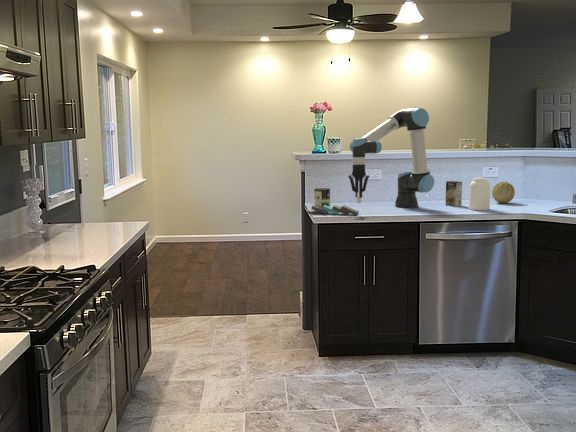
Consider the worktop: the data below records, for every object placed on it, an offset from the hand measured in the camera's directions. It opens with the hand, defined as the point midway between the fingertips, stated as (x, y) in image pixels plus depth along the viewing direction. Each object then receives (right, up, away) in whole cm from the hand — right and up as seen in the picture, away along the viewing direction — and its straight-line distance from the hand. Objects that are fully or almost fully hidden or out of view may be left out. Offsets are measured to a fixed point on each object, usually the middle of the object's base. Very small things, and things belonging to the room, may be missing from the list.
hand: (358, 203), depth 370 cm
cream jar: (+79, -4, +18) cm, 81 cm away
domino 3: (-6, -6, +4) cm, 9 cm away
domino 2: (-18, -5, +8) cm, 21 cm away
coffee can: (-21, -5, +24) cm, 32 cm away
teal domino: (-12, -6, +6) cm, 15 cm away
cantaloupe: (+104, +1, +47) cm, 114 cm away
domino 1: (-21, -6, +10) cm, 25 cm away
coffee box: (+68, -1, +40) cm, 79 cm away
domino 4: (-1, -6, +1) cm, 7 cm away
